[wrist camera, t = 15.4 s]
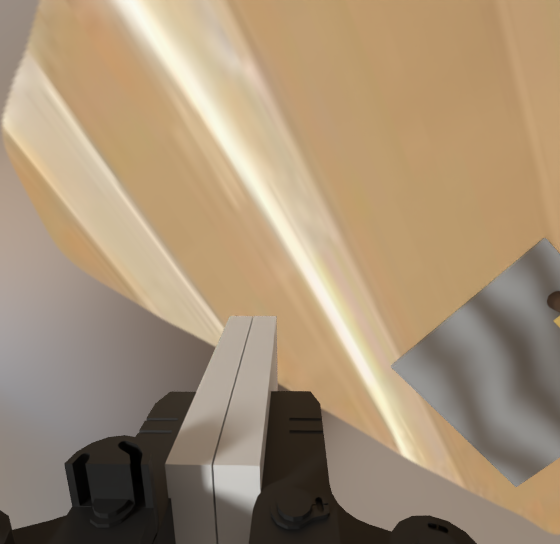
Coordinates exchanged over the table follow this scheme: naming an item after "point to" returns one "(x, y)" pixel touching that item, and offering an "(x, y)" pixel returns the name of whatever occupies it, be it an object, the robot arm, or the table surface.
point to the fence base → (500, 366)
